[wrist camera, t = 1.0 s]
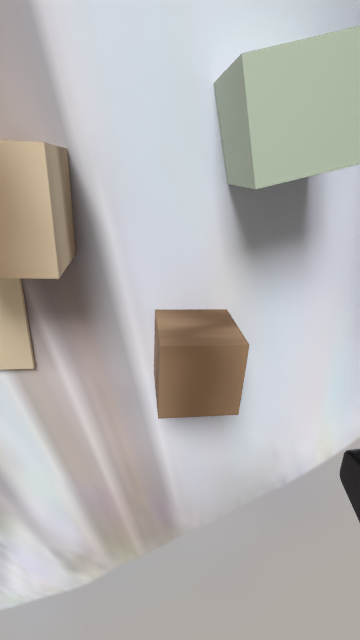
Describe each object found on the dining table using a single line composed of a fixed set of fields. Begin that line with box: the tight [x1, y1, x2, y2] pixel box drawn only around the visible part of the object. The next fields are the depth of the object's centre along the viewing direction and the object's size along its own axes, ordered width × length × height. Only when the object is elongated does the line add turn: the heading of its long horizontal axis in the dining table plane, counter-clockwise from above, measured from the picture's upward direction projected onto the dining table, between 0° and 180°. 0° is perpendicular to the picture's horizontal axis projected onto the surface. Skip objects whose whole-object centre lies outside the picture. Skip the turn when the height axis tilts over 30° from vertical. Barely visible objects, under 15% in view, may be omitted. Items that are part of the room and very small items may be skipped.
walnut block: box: [154, 310, 249, 418], centre depth 19 cm, size 4×4×4 cm
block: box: [214, 26, 360, 189], centre depth 14 cm, size 4×4×4 cm
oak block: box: [0, 140, 76, 279], centre depth 14 cm, size 5×5×4 cm
